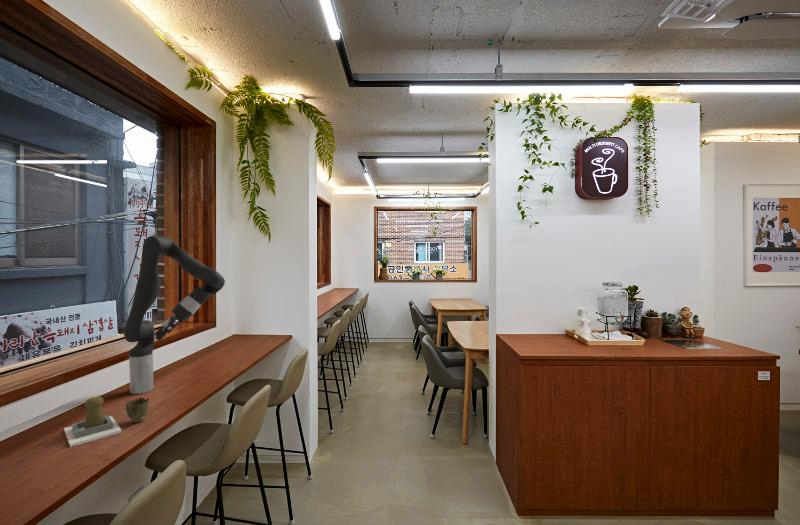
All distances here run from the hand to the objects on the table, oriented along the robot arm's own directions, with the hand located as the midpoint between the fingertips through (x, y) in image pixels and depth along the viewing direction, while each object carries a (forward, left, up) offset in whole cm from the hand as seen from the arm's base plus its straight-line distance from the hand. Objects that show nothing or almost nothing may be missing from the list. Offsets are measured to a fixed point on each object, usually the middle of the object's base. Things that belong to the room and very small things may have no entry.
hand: (156, 337), depth 160 cm
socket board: (+10, -23, -29) cm, 39 cm away
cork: (+9, -22, -28) cm, 37 cm away
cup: (+12, -10, -29) cm, 33 cm away
